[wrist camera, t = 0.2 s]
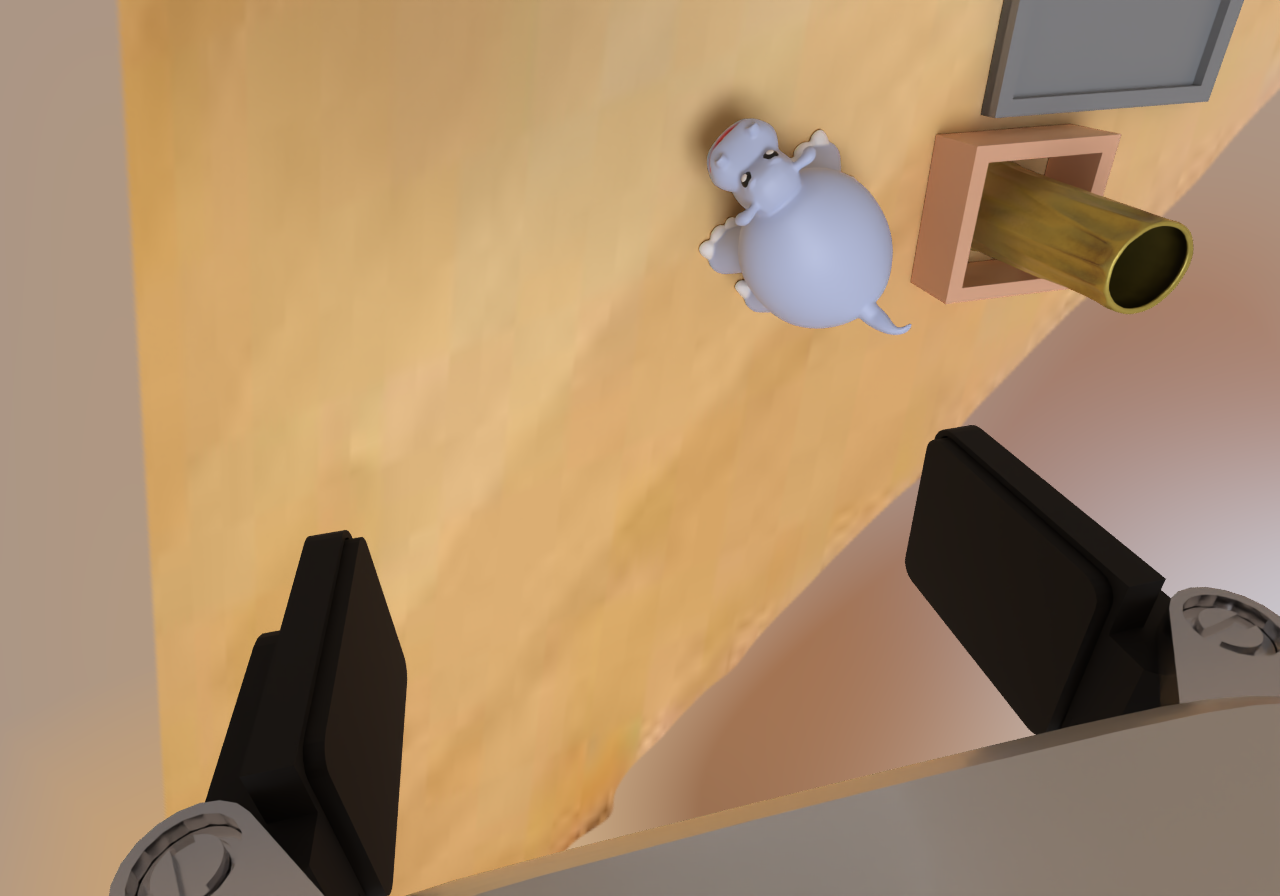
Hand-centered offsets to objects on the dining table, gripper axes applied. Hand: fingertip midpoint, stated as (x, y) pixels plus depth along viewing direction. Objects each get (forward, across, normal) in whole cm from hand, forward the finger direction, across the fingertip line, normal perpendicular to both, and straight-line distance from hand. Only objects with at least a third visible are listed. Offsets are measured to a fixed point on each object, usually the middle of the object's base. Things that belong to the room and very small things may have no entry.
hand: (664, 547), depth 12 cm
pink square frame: (+37, -32, +6) cm, 49 cm away
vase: (+37, -32, +6) cm, 49 cm away
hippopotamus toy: (+37, -16, +5) cm, 41 cm away
